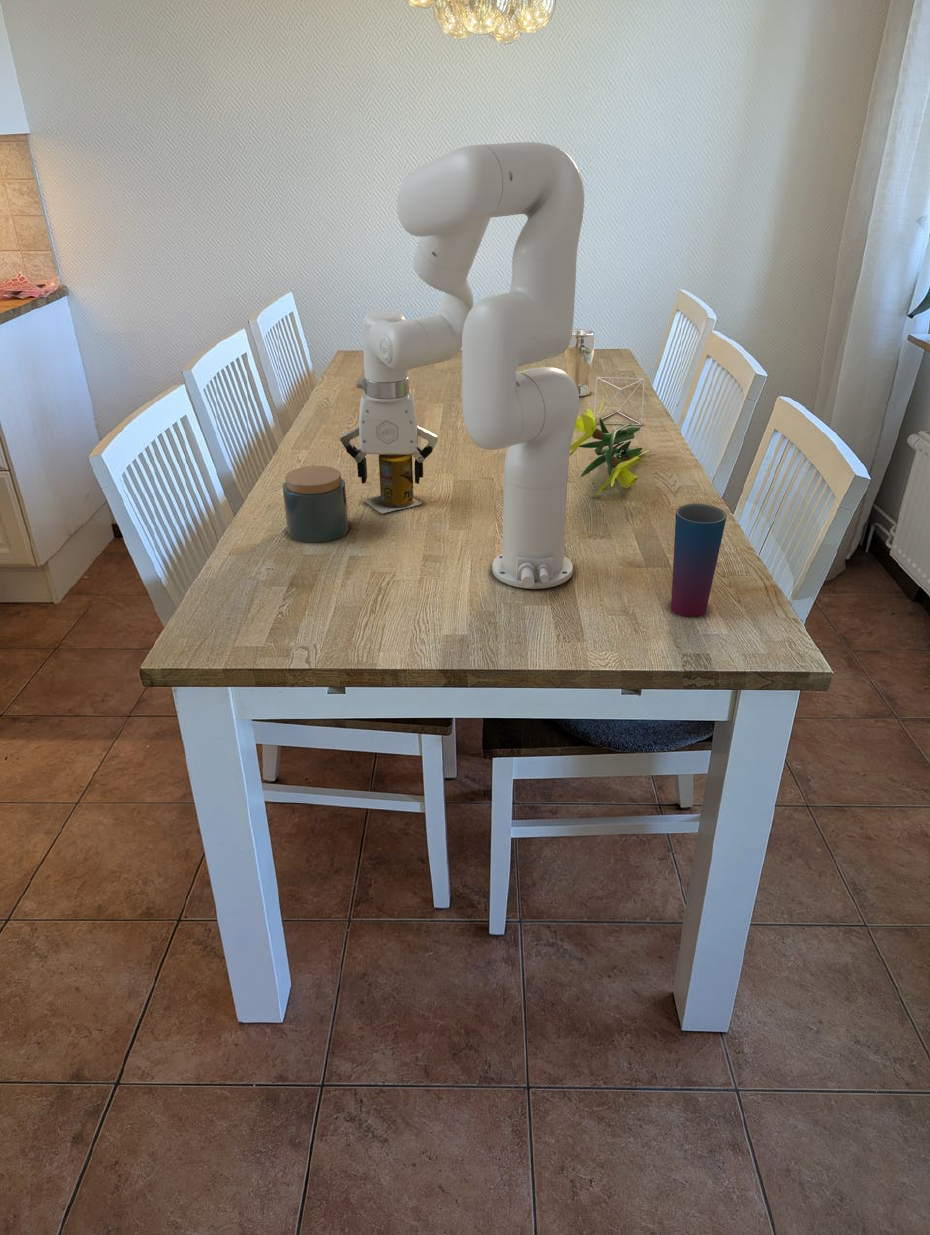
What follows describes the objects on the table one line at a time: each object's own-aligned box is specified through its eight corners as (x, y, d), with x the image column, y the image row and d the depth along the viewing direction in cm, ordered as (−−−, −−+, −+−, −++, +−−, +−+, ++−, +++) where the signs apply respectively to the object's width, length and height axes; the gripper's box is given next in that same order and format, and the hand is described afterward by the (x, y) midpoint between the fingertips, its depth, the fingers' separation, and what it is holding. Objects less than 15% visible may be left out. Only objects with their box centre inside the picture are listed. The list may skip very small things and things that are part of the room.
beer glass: (558, 391, 231) (561, 330, 224) (582, 388, 234) (585, 327, 226) (572, 398, 226) (575, 336, 218) (596, 395, 228) (600, 333, 221)
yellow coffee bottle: (422, 504, 168) (421, 441, 162) (382, 514, 164) (378, 450, 158) (402, 491, 173) (400, 430, 167) (363, 501, 169) (359, 438, 163)
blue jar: (344, 542, 153) (340, 486, 148) (282, 542, 153) (276, 486, 148) (351, 517, 162) (347, 464, 157) (293, 518, 162) (287, 464, 157)
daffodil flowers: (677, 462, 188) (656, 475, 156) (613, 493, 194) (579, 512, 162) (643, 387, 187) (614, 385, 155) (579, 420, 193) (538, 425, 161)
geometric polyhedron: (653, 419, 211) (656, 380, 206) (629, 431, 203) (633, 390, 199) (606, 410, 217) (608, 371, 213) (581, 421, 210) (584, 381, 206)
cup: (678, 592, 137) (690, 499, 130) (720, 606, 134) (735, 511, 126) (656, 610, 133) (667, 514, 125) (699, 625, 129) (712, 527, 121)
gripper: (334, 393, 154) (340, 488, 163) (436, 394, 154) (437, 489, 163) (339, 381, 161) (345, 473, 170) (438, 381, 161) (439, 473, 170)
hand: (390, 480), depth 166 cm, fingers open, 9 cm apart
